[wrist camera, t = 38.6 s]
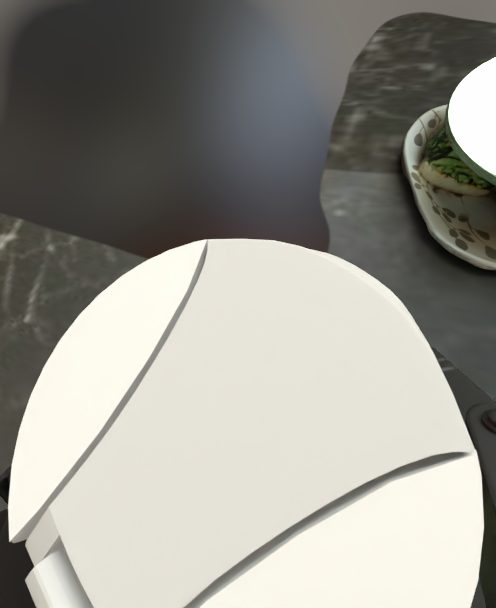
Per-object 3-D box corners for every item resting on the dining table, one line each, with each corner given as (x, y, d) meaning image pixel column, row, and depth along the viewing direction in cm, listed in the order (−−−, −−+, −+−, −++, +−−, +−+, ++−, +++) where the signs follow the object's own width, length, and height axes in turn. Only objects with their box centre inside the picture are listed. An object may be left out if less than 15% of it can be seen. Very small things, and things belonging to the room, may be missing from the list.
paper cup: (285, 528, 15) (189, 1278, 2) (194, 419, 18) (-87, 430, 5) (376, 415, 16) (686, 418, 3) (277, 330, 19) (227, 150, 6)
